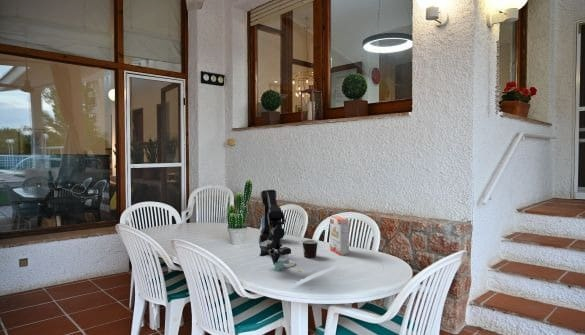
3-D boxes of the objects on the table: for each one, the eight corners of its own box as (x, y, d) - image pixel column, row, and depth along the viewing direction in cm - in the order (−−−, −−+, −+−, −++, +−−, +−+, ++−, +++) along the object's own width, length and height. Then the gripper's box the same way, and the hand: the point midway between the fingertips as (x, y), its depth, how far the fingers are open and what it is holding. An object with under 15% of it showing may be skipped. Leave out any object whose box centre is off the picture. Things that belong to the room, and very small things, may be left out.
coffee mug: (316, 261, 209) (316, 243, 208) (301, 260, 211) (301, 243, 210) (319, 256, 220) (319, 239, 220) (304, 255, 222) (304, 238, 222)
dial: (281, 261, 205) (281, 254, 205) (298, 263, 201) (298, 256, 201) (267, 269, 191) (267, 262, 191) (285, 271, 187) (285, 264, 187)
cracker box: (329, 249, 234) (329, 216, 233) (338, 249, 236) (338, 215, 235) (340, 255, 221) (340, 220, 220) (349, 254, 223) (349, 219, 222)
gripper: (251, 233, 193) (251, 263, 194) (275, 240, 179) (274, 272, 180) (268, 230, 201) (267, 259, 202) (292, 236, 187) (291, 268, 188)
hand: (274, 264), depth 193 cm, fingers closed
